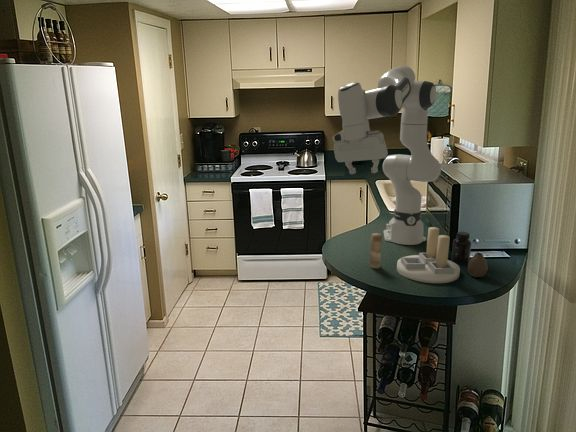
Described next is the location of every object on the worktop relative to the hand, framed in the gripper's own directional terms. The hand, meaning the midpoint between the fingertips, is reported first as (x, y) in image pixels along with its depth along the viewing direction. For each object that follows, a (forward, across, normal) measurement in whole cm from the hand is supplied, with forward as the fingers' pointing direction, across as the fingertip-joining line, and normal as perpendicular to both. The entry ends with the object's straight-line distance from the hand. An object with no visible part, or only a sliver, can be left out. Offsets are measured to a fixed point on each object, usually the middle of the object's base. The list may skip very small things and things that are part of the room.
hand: (363, 173), depth 166 cm
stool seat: (+44, -5, -22) cm, 49 cm away
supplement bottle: (+47, -8, -41) cm, 63 cm away
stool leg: (+40, +11, -11) cm, 43 cm away
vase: (+48, -20, -31) cm, 60 cm away
